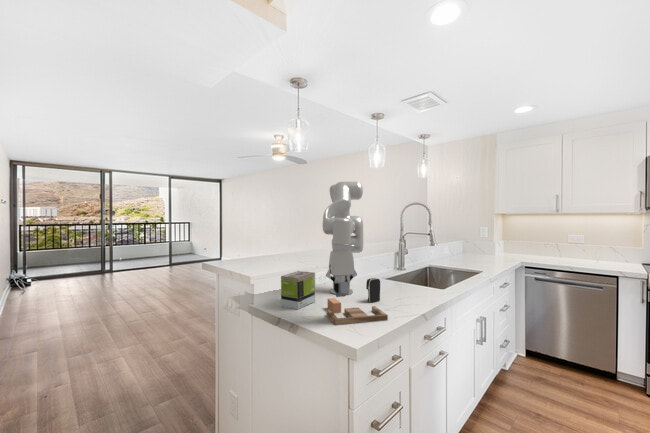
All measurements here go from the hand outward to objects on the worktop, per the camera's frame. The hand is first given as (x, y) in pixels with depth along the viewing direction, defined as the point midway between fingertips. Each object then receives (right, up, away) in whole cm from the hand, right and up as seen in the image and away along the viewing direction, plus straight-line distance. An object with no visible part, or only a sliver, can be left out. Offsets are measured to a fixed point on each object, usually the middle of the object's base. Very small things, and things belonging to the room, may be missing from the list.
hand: (341, 291), depth 125 cm
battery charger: (+17, -11, +25) cm, 32 cm away
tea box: (-20, -11, +19) cm, 30 cm away
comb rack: (+6, -11, +1) cm, 13 cm away
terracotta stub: (-3, -11, +10) cm, 16 cm away
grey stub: (0, -1, -2) cm, 2 cm away
